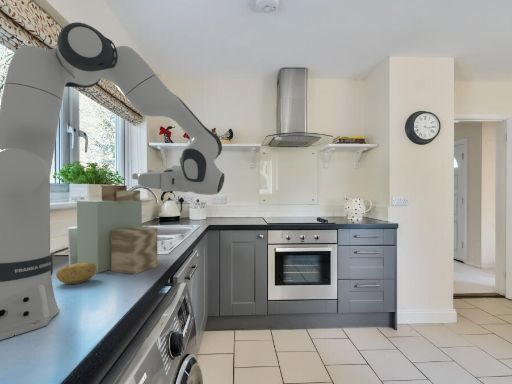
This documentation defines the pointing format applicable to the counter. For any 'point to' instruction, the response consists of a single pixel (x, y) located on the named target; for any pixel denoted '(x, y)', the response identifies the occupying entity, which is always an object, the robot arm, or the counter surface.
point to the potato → (76, 273)
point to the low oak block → (133, 249)
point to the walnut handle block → (119, 193)
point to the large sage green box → (103, 228)
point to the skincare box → (72, 244)
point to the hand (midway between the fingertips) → (141, 174)
